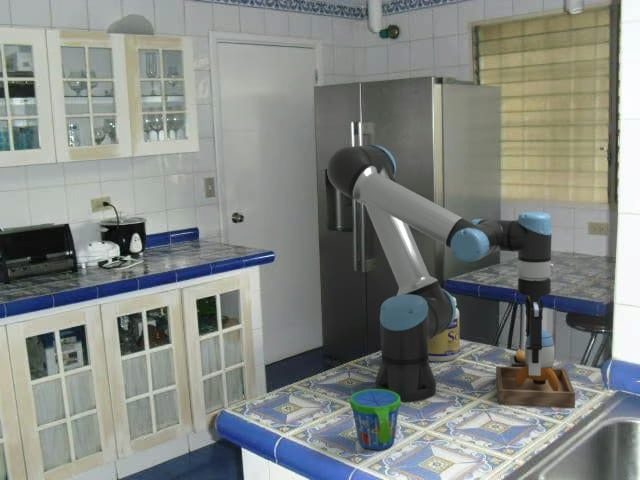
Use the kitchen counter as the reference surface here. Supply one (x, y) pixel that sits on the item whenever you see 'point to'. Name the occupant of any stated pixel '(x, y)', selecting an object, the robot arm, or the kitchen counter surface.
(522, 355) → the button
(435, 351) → the supplement tub
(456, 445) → the kitchen counter surface
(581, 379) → the kitchen counter surface
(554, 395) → the open wooden tray
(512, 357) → the button housing
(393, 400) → the snack cup
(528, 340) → the toy rocket
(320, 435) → the kitchen counter surface
